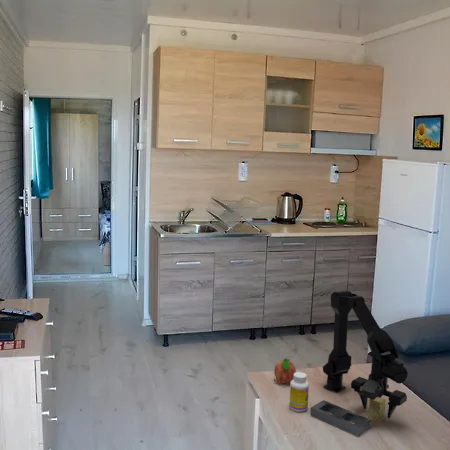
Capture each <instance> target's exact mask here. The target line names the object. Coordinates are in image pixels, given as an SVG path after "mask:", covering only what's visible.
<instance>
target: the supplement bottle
mask: <svg viewBox="0 0 450 450" xmlns="http://www.w3.org/2000/svg"><path fill="white" fill-rule="evenodd" d="M293 378H294V379H293V380H292V381H291V382H290V383H289V384H290V385H289V403H288V404H289V406H288V407H289V408H290V410H291V411H293V412H296V413H304V412H306V411H307V410H308V408H309V407H308V406H309V389H310V386H309V385H310V384H309V382H308V381H307V378H308V377H307V374H306V373H304V372H301V371H298V372H297V371H296V373H294V375H293Z"/></svg>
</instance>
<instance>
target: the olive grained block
mask: <svg viewBox="0 0 450 450" xmlns="http://www.w3.org/2000/svg"><path fill="white" fill-rule="evenodd" d="M386 402H387V401H386V398H384V397H383V396H382V397H381V398H379V397H377V398H376V399H374V400H371V399H370V398H369V405H368V419H372V420H374V421H376V422H378V423H379V422H380V421H382V420H384V419H385V414H386Z"/></svg>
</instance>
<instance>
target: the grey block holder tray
mask: <svg viewBox="0 0 450 450" xmlns="http://www.w3.org/2000/svg"><path fill="white" fill-rule="evenodd" d="M309 412H310V413H309V415H311V416H310V417H313V418H314V419H317V420H319V421H322V422H324V423H327V424H329V425H331V426H334V427H335V428H338V429H340V430H343V431H345V432H347V433H349V434H351V435H353V436H356V437H360V436H361V435H363V434H364V433H365V432H366V431H368V430H369V429H370V428H371V425H372V424H371V418H369V417H365V416H363V415H361V414H358V413H356V412H353V411H351V410H350V409H349V410H348V409H346V408H344V407H341V406H339V405H337V404H334V403H331V402H329V401H326V400H324V399H323V400H321V401H320V402H317V403H316V404H314V405H313V406H311V407H310V411H309Z"/></svg>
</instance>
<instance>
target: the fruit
mask: <svg viewBox="0 0 450 450" xmlns="http://www.w3.org/2000/svg"><path fill="white" fill-rule="evenodd" d="M273 370H274V372H273V373H274V376H275V379H276V381H278V382H279V383H282V384H290V383H291V381H292V380H293V379H294V378H293V375H294V373H296V372H297V369H296V367H295V365H294V363H293V362H292V361H291V359H289V358H286V357H285V358H283V360H280V361H278V362H277V363H276V365H275V366H274V369H273Z"/></svg>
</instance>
